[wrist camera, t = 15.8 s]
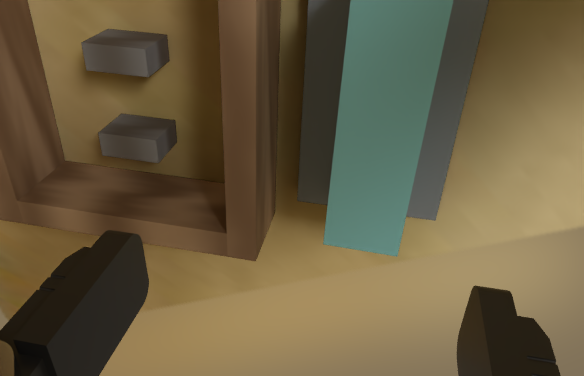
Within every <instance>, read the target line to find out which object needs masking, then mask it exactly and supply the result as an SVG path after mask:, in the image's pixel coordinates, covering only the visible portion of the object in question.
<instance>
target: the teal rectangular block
mask: <svg viewBox="0 0 584 376" xmlns="http://www.w3.org/2000/svg"><path fill="white" fill-rule="evenodd" d="M452 5H453V0H351V2H350V11H349V20H348V29H347V38H346V47H345V55H344V64H343V73H342V82H341V91H340V100H339V109H338V118H337V127H336V136H335V144H334V153H333V162H332V171H331V180H330V189H329V198H328V207H327V216H326V225H325V233H324V242H323V244H325V245H331V246H337V247H343V248H349V249H355V250H361V251H367V252H373V253H380V254H386V255H392V256H398V251H399V246H400V242H401V237H402V233H403V228H404V224H405V219H406V214H407V210H408V205H409V201H410V196H411V192H412V187H413V183H414V178H415V173H416V169H417V164H418V160H419V155H420V151H421V146H422V142H423V137H424V132H425V128H426V123H427V119H428V114H429V110H430V105H431V100H432V96H433V91H434V87H435V82H436V78H437V73H438V69H439V64H440V59H441V55H442V50H443V46H444V41H445V37H446V32H447V28H448V23H449V18H450V14H451V9H452Z"/></svg>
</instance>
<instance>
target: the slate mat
mask: <svg viewBox="0 0 584 376" xmlns="http://www.w3.org/2000/svg"><path fill="white" fill-rule="evenodd" d="M350 2H351V0H308V18H307V36H306V54H305V72H304V90H303V107H302V125H301V143H300V161H299V179H298V197H297V201H302V202H309V203H316V204H323V205H328V198H329V189H330V180H331V171H332V162H333V153H334V144H335V136H336V127H337V118H338V109H339V100H340V91H341V82H342V73H343V64H344V55H345V47H346V38H347V29H348V20H349V11H350ZM488 2H489V0H453V5H452V9H451V14H450V18H449V23H448V28H447V32H446V37H445V41H444V46H443V50H442V55H441V59H440V64H439V69H438V73H437V78H436V82H435V87H434V91H433V96H432V100H431V105H430V110H429V114H428V119H427V123H426V128H425V132H424V137H423V142H422V146H421V151H420V155H419V160H418V164H417V169H416V173H415V178H414V183H413V187H412V192H411V196H410V201H409V205H408V210H407V214H406V216H407V217H414V218H421V219H428V220H436V216H437V212H438V208H439V204H440V200H441V196H442V192H443V187H444V183H445V179H446V175H447V171H448V167H449V163H450V159H451V154H452V150H453V146H454V142H455V138H456V134H457V130H458V126H459V122H460V117H461V113H462V109H463V105H464V101H465V97H466V93H467V89H468V84H469V80H470V76H471V72H472V68H473V64H474V60H475V56H476V51H477V47H478V43H479V39H480V35H481V31H482V27H483V23H484V19H485V14H486V10H487V6H488Z"/></svg>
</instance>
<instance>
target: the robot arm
mask: <svg viewBox="0 0 584 376" xmlns="http://www.w3.org/2000/svg"><path fill="white" fill-rule="evenodd" d="M148 287H149V279H148V273H147V267H146V261H145V256H144V250H143V244H142V240H141V237H140V236H139V235H138V234H134V233H128V232H121V231H114V230H107V231H105V232H104V233H103V234H102V235H101V237H100V238H99V239H98V240H97V241H96V242H95V244H94V245H93V246H92V247H91V248H89V247H83V248H82V249H80V250H78V251H77V252H75V253H74V254H72V255H70V256H69V257H67V258H65V259H64V260H63V261H62V263H61V264H60V265H59V266H58V267H57V268H56V269H55V270H54V271H53V273H52V274H51V277H48V278H47V279H46V280H45V281H44V283H43V284H42V285H41V286H40V289H39V290H36V292H35V293H34V294H33V295H32V296H31V297H30V298H29V299H28V300H27V302H26V303H25V304H24V305H23V306H22V307H21V308H20V309H19V310H18V312H17V313H16V314H15V315H14V316H13V317H12V318H11V319H10V320H9V322H8V323H7V324H6V325H5V326H4V327H3V328H2V329H1V330H0V376H99V375H100V373H101V371H102V370H103V368H104V366H105V365H106V363H107V362H108V360H109V359H110V357H111V355H112V354H113V352H114V351H115V349H116V347H117V346H118V344H119V342H120V341H121V339H122V338H123V336H124V335H125V333H126V331H127V330H128V328H129V326H130V325H131V323H132V321H133V320H134V318H135V317H136V315H137V314H138V312H139V310H140V309H141V307H142V306H143V304H144V302H145V299H146V296H147V293H148ZM457 365H458V374H459V376H560V372H559V369H558V366H557V365H556V359H555V356H554V353H553V349H552V346H551V342H550V339H549V338H548V336H547V335H546V334H545V332H544V331H543V330H542V329H541V327H540V326H539V325H538V324H537V322H536V321H535V320H534V319H533V318H527V317H521V316H517V313H516V309H515V305H514V301H513V297H512V294H511V292H510V291H507V290H500V289H494V288H487V287H480V286H474V287H473V289H472V291H471V294H470V297H469V301H468V304H467V307H466V311H465V314H464V318H463V321H462V324H461V328H460V331H459V335H458V342H457Z"/></svg>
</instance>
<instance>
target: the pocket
mask: <svg viewBox="0 0 584 376" xmlns="http://www.w3.org/2000/svg"><path fill="white" fill-rule="evenodd" d="M280 11H281V0H218V15H219V41H220V67H221V94H222V120H223V147H224V173H225V183H218V182H211V181H204V180H197V179H190V178H182V177H175V176H168V175H161V174H154V173H147V172H140V171H133V170H126V169H119V168H112V167H104V166H97V165H90V164H83V163H76V162H69V161H65V159H64V154H63V150H62V146H61V142H60V137H59V133H58V129H57V125H56V120H55V116H54V112H53V108H52V103H51V99H50V95H49V91H48V86H47V82H46V78H45V74H44V69H43V65H42V61H41V57H40V52H39V48H38V44H37V40H36V35H35V31H34V27H33V23H32V18H31V14H30V10H29V6H28V1H27V0H0V220H5V221H11V222H18V223H24V224H30V225H36V226H42V227H48V228H54V229H61V230H67V231H73V232H79V233H85V234H91V235H98V236H101V235H102V234H103V233H104V232H105V231H107V230H114V231H121V232H128V233H134V234H138V235H139V236H140V237H141V240H142V243H147V244H153V245H159V246H165V247H171V248H178V249H184V250H190V251H196V252H202V253H208V254H214V255H221V256H227V257H233V258H239V259H245V260H251V261H256V259H257V257H258V254H259V252H260V249H261V247H262V244H263V241H264V239H265V236H266V234H267V231H268V229H269V226H270V224H271V221H272V218H273V216H274V213H275V194H276V158H277V121H278V84H279V47H280ZM81 44H82V49H83V54H84V60H85V65H86V70H88V71H97V72H106V73H115V74H124V75H133V76H142V77H149V76H151V75H152V74H153V73H155V72H156V71H157V70H158V69H160V68H161V67H162V66H164V65H165V64H166V63H167V62H169V51H168V40H167V35H165V34H155V33H145V32H135V31H125V30H114V29H107V30H105V31H103V32H101V33H99V34H97V35H95V36H93V37H91V38H89V39H87V40H85V41H83V42H81ZM98 134H99V140H100V145H101V150H102V155H103V156H110V157H117V158H125V159H132V160H139V161H146V162H154V163H159V162H160V161H161V160H162V159H163V158H164V156H165V155H166V154H167V153H168V152H169V151H170V150H171V148H172V147H173V146H174V145H175V144H176V143H177V136H176V125H175V120H169V119H161V118H153V117H145V116H137V115H129V114H120V115H119V116H118V117H117V118H115V119H114V120H113V121H112V122H111V123H109V124H108V125H107V126H106V127H105V128H103V129H102V130H101V131H100V132H99V133H98Z"/></svg>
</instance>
